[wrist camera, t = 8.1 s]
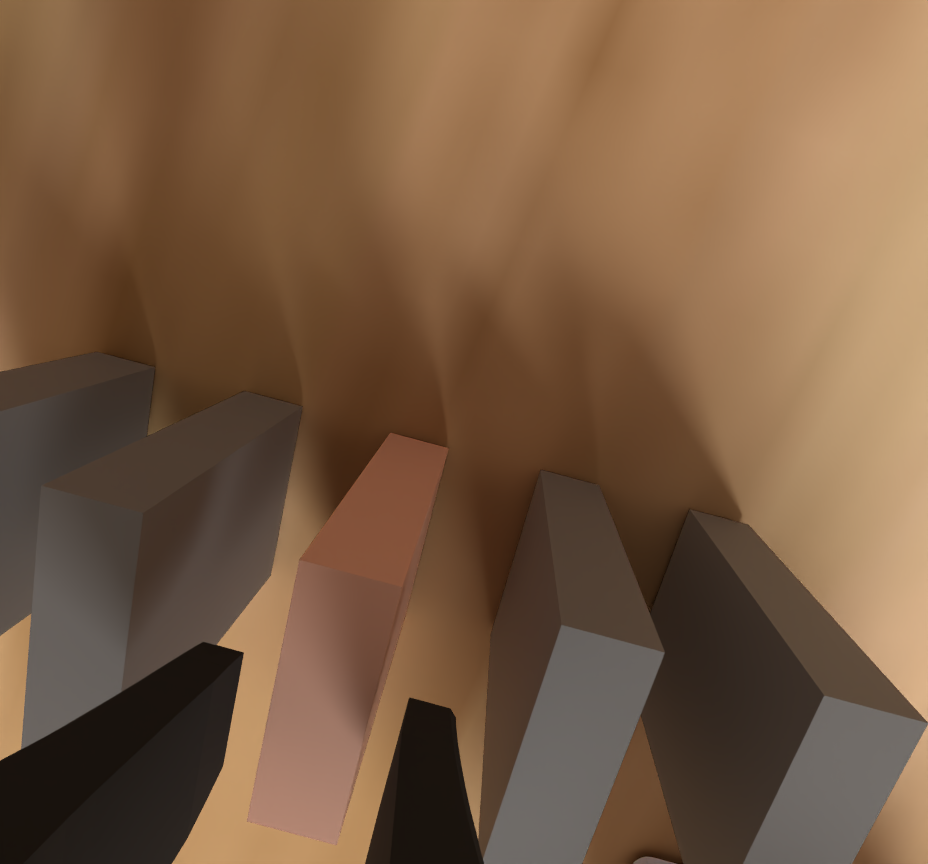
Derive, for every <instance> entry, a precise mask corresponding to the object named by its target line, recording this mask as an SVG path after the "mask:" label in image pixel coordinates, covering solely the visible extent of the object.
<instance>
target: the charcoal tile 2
mask: <svg viewBox="0 0 928 864" xmlns="http://www.w3.org/2000/svg"><path fill="white" fill-rule="evenodd" d="M302 407H303V406H299V405H295V404H292V403H288V402H284V401H280V400H276V399H273V398H269V397H265V396H261V395H258V394H254V393H250V392H246V391H243V392H241V393H239V394H237V395H235V396H232V397H230V398H228V399H226V400H224V401H222V402H220V403H217V404H215V405H213V406H211V407H209V408H207V409H205V410H202V411H200V412H198V413H196V414H194V415H192V416H190V417H187V418H185V419H183V420H181V421H179V422H177V423H174V424H172V425H170V426H168V427H166V428H164V429H162V430H159V431H157V432H155V433H153V434H151V435H149V436H147V437H144V438H142V439H140V440H138V441H136V442H134V443H132V444H129V445H127V446H125V447H123V448H121V449H119V450H117V451H114V452H112V453H110V454H108V455H106V456H104V457H101V458H99V459H97V460H95V461H93V462H91V463H89V464H86V465H84V466H82V467H80V468H78V469H76V470H74V471H71V472H69V473H67V474H65V475H63V476H61V477H59V478H56V479H54V480H52V481H50V482H48V483H46V484H44V485H41V494H40V507H39V521H38V534H37V547H36V560H35V574H34V587H33V600H32V613H31V627H30V640H29V653H28V666H27V679H26V693H25V706H24V719H23V732H22V746H21V749H23V748H25V747H27V746H28V745H30V744H32V743H34V742H36V741H38V740H40V739H42V738H43V737H45V736H47V735H49V734H51V733H52V732H54V731H56V730H58V729H59V728H61V727H63V726H65V725H66V724H68V723H70V722H71V721H73V720H75V719H76V718H78V717H80V716H82V715H83V714H85V713H87V712H88V711H90V710H92V709H93V708H95V707H97V706H98V705H100V704H102V703H104V702H105V701H107V700H109V699H110V698H112V697H114V696H115V695H117V694H119V693H120V692H122V691H124V690H125V689H127V688H128V687H130V686H132V685H133V684H135V683H137V682H138V681H140V680H141V679H143V678H145V677H146V676H148V675H149V674H151V673H153V672H154V671H156V670H157V669H159V668H161V667H162V666H164V665H165V664H167V663H169V662H170V661H172V660H173V659H175V658H177V657H178V656H180V655H181V654H183V653H185V652H186V651H188V650H190V649H191V648H193V647H194V646H196V645H198V644H200V643H202V642H206V643H210V644H214V645H217V643H218V642H219V641H220V640H221V638H222V637H223V636H224V634H225V633H226V632H227V631H228V629H229V628H230V627H231V625H232V624H233V623H234V622H235V620H236V619H237V618H238V617H239V615H240V614H241V613H242V611H243V610H244V609H245V608H246V606H247V605H248V604H249V602H250V601H251V600H252V599H253V597H254V596H255V595H256V594H257V592H258V591H259V590H260V588H261V587H262V586H263V585H264V583H265V582H266V581H267V580H268V578H269V577H270V576H271V571H272V566H273V561H274V556H275V550H276V545H277V540H278V534H279V529H280V524H281V518H282V513H283V508H284V503H285V497H286V492H287V487H288V481H289V476H290V471H291V466H292V460H293V455H294V450H295V444H296V439H297V434H298V428H299V423H300V418H301V413H302Z"/></svg>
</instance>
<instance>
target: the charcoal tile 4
mask: <svg viewBox="0 0 928 864" xmlns="http://www.w3.org/2000/svg"><path fill="white" fill-rule="evenodd" d="M664 654H665V651H664V649H663V646H662V644H661V641H660V638H659V636H658V633H657V631H656V628H655V626H654V623H653V621H652V618H651V616H650V613H649V610H648V608H647V605H646V603H645V600H644V598H643V595H642V593H641V590H640V588H639V585H638V582H637V580H636V577H635V575H634V572H633V570H632V567H631V565H630V562H629V560H628V557H627V554H626V552H625V549H624V547H623V544H622V542H621V539H620V537H619V534H618V531H617V529H616V526H615V524H614V521H613V519H612V516H611V514H610V511H609V509H608V506H607V503H606V501H605V498H604V496H603V493H602V491H601V488H600V486H599V485H596V484H593V483H589V482H585V481H581V480H578V479H574V478H570V477H566V476H563V475H559V474H555V473H551V472H548V471H544V470H540V473H539V477H538V480H537V483H536V487H535V490H534V493H533V497H532V500H531V503H530V506H529V510H528V513H527V516H526V520H525V523H524V526H523V530H522V533H521V536H520V539H519V543H518V546H517V549H516V553H515V556H514V559H513V563H512V566H511V569H510V572H509V576H508V579H507V582H506V586H505V589H504V592H503V596H502V599H501V602H500V606H499V609H498V612H497V615H496V619H495V622H494V625H493V629H492V632H491V639H490V656H489V672H488V689H487V706H486V722H485V739H484V755H483V772H482V789H481V805H480V822H479V838H478V842H479V846H480V850H481V854H482V858H483V861H484V864H582V863H583V860H584V858H585V855H586V853H587V850H588V848H589V845H590V842H591V840H592V837H593V835H594V832H595V830H596V827H597V825H598V822H599V819H600V817H601V814H602V812H603V809H604V807H605V804H606V802H607V799H608V797H609V794H610V791H611V789H612V786H613V784H614V781H615V779H616V776H617V774H618V771H619V769H620V766H621V763H622V761H623V758H624V756H625V753H626V751H627V748H628V746H629V743H630V741H631V738H632V735H633V733H634V730H635V728H636V725H637V723H638V720H639V718H640V715H641V713H642V710H643V707H644V705H645V702H646V700H647V697H648V695H649V692H650V690H651V687H652V684H653V682H654V679H655V677H656V674H657V672H658V669H659V667H660V664H661V662H662V659H663V656H664Z"/></svg>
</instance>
